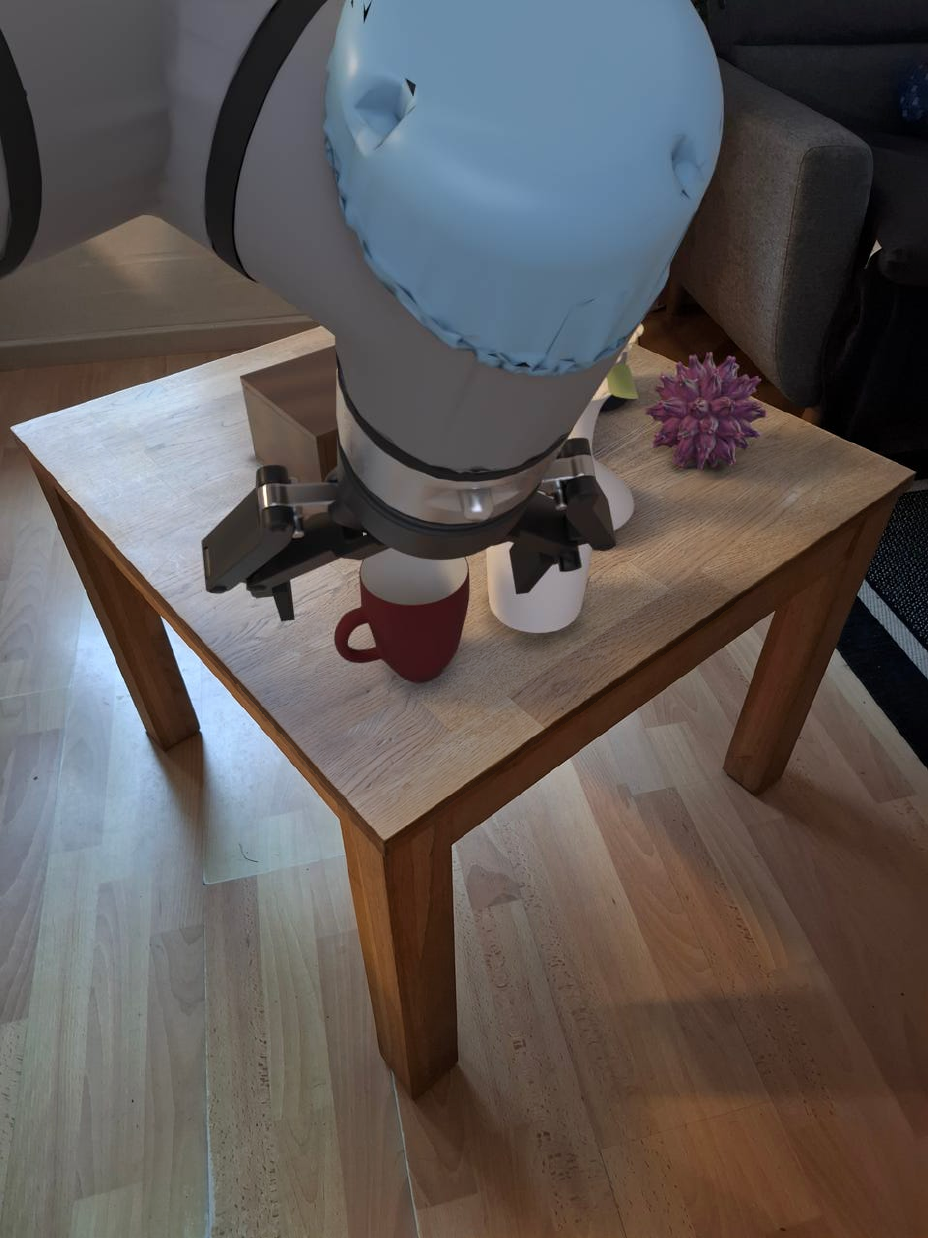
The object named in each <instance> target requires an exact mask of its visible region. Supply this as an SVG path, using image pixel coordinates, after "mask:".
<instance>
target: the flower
mask: <svg viewBox="0 0 928 1238" xmlns="http://www.w3.org/2000/svg"><path fill="white" fill-rule="evenodd" d="M688 361H689V365H688V368H687V367H686V366H684V365H683V362H681V361H679V362H676V363H675V364H674V366H675V368H676V377H675V376H674V377H673V376H668V375H666V374H665V373H661V374H660V375H659V376H658V379H659V381H660V382H661V383H662V385H663V386H661V385H659V384H655V386H654V387H653V391H654V392H656V393H658V395H659V397H660V398H661V400H658V402H657V403H656V404H655V405H653V406H650V407H645V408H644V411H645V413H644V415H645V416H650V417H652V419H653V421H657V422H660V423H662V424H663V425H662V427H661V429H660V430H658V431H657V432H656V433H654V440H652V441H651V444H652V448H653V449H657V448H659V447H662V446H664V447H667V448H672V447H674V455H673V457H672V459H671V460H672V461H673V462H675V464H677V463H678V466H679V467H681V468H684V469H685V468H686V466H687V464H688V463H689V462H691V461H692V460H693V459H694V460H695V463H696V464H697V465H696V466H697V472H702V471H703V468H704V465H705V464H704V463H705V462H706V460H707V461H708V462H709V465H710V467H711V468H715V467H717V463H718V459H721V460H722V461H724V462H725V463H726V465H727V466H728V467H731V466H732V465H733V466H735V464H737V462H738V461H737V459H736V457H735V455H736V453H735V452H736V447H737V448H740V449H742V450H744V451H747V452H748V449H749V447H751V444H750V443H749V441H747V439H748V438H755V439H760V436H762V433H761V432H760V431H757V430H756V429H755V428H754V426H752V424H751V423H753V422H754V421H756V420H758V419H764V418H766V417H767V412H768V411H767V409H766V408H762V407H763V403H762V402H761V401H754V400H752V399H750V397H751V396H752V395H753V394H755V393H756V391H757V389H756V386H757V385H758V384H760V383H761V381H762V379H761V378H759V376H758V375H756V376H755V375H754V377H752V378H750V376H748V374H743V375H742V376H740V377H738V369H740V365H739V364H737V363H736V362H735V361H736V357H735V356H732V355H728V356H727V357H726V359H725V360H724V362H723V363H721V364H720V365H718V366H717V365H716V364H715V362H714V360H713V352H712V351H710V352H706V355H705V358H704V361H703V362H702V363H701V362H700V361H699V359H698V356H697V355H696V354H693V355H692V354H690V355H689V357H688Z"/></svg>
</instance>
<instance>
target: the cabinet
mask: <svg viewBox="0 0 928 1238" xmlns="http://www.w3.org/2000/svg"><path fill="white" fill-rule="evenodd" d="M239 379H240V384H241V388H242V389H241V390H242V394H243V398H244V399H243V400H244V404H245V409H246V414H247V420H248V425H249V430H250V435H251V440H252V445H253V446H252V447H253V450H254V456H255V459H256V460H257V461H258V463H259V464H261V465H262V467H264V466H269V465H280V466H284V467H285V468H287V471H288V478H290V477H294V478H297V479H298V480H299V483H319V482H325V479H326V477H327V475H328V474H329V473H330V472H331V471H332V470H333V469H334V468H336V467H337V416H336V388H337V360H336V350H335V344H334V345H330V346H328V347H325V348H321V349H318V350H315V351H312V352H309V353H306V354H303V355H300V356H297V357H294V358H291V359H288V360H285V361H282V362H279V363H276V364H273V365H269V366H266V367H264V368H260V369H258V370H254V371H251V372H248V373H245V374H242V375H239Z"/></svg>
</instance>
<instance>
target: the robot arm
mask: <svg viewBox="0 0 928 1238" xmlns="http://www.w3.org/2000/svg"><path fill="white" fill-rule="evenodd" d="M724 101H725V100H724V88H723V82H722V77H721V72H720V66H719V61H718V58H717V55H716V51H715V48H714V45H713V43H712V40H711V37H710V35H709V33H708V30H707V27H706V24H705V23H704V21H703V20H702V18H701V16H700V15H699V13H698V11H697V9H696V8H695V6H694V4H693V2H692V0H0V281H1V280H3V279H6V278H8V277H10V276H12V275H14V274H16V273H18V272H21V271H23V270H25V269H27V268H30V267H31V266H34V265H36V264H39V263H41V262H43V261H45V260H48V259H49V258H52V257H55V256H56V255H58V254H61V253H63V252H65V251H67V250H70V249H71V248H74V247H76V246H78V245H81V244H82V243H84V242H88V241H89V240H91V239H94V238H96V237H98V236H100V235H103V234H105V233H107V232H109V231H112V230H114V229H115V228H118V227H120V226H122V225H123V224H124V225H125V224H126V223H127V222H130V221H132V220H135V219H137V218H140V217H141V216H151V217H154V218H158V219H160V220H162V221H163V222H164V223H167V224H168V225H170V226H171V227H172V228H174V229H175V230H177V231H179V232H181V234H184V235H185V236H186V237H187V238H189V239H191V240H192V241H193V242H195V243H197V244H198V245H199V246H201V247H203V248H204V249H205V250H206V251H208V252H210V253H211V254H213V255H214V256H216V257H218V258H219V259H220V260H222V261H223V262H224V263H226V265H227V266H229V267H230V268H232V269H233V270H235V271H236V272H238V273H239V274H240V275H241V276H243V277H244V278H246V279H248V280H249V281H252V282H254V283H257V284H259V285H261V286H263V287H264V288H265V289H267V290H269V291H270V292H271V293H272V294H274V295H275V296H277V297H278V298H280V299H281V300H283V301H284V302H286V303H287V304H289V305H290V306H292V307H293V308H295V309H296V310H298V311H299V312H300V313H302V314H303V315H305V316H306V317H308V318H309V319H310V320H312V321H313V322H315V323H316V324H319V326H321V327H322V328H324V329H325V330H327V331H328V332H329V333H331V334H332V335H333V336H334V345H335V350H336V360H337V388H336V416H337V467H336V468H334V469H333V470H332V471H331V472H330V473H329V474H328V475H327V477H326V479H325V482H319V483H299V480H298V479H297V478H294V477H290V478H288V471H287V468H285V467H284V466H280V465H269V466H261V467H259V468H258V469H257V470H256V472H255V487H254V488H253V489H252V490H251V491H250V492H249V493H248V494H247V495H246V496H245V497H244V498H243V499H242V500H241V501H240V502H239V503H238V504H237V505H236V506H235V507H234V508H233V509H232V510H231V511H230V512H229V513H228V514H226V516H225V517H223V518H222V520H221V521H220V522H219V523H218V524H216V525H215V526H214V528H213V529H212V530H211V531H210V532H209V533H208V534H206V536H204V537H203V538H202V540H201V552H202V553H201V554H202V564H203V574H204V585H205V592H207V593H209V594H216V595H220V594H225V593H226V592H229V591H231V590H233V589H234V588H236V587H237V586H238V585H239V584H245V590H246V591H248V592H250V594H251V597H253V598H255V599H263V598H273V600H274V603H275V607H276V610H277V613H278V616H279V619H280V622H288V621H295V618H296V617H295V610H294V602H293V591H292V583H291V581H292V580H294V579H296V578H298V577H301V576H303V575H305V574H307V573H308V574H309V573H310V572H312V571H314V570H317V569H319V568H321V567H323V566H326V565H328V564H330V563H332V562H335V561H337V560H339V559H346V560H355V561H363V560H364V559H366V558H368V557H371V556H373V555H375V554H378V553H380V552H382V551H385V550H387V549H389V548H392V549H394V550H396V551H399V552H401V553H404V554H406V555H409V556H413V557H417V558H422V559H429V560H452V559H458V558H463V557H465V558H466V557H470V556H473V555H476V554H479V553H482V552H483V551H486V549H487V548H489V547H491V546H496V545H499V544H503V543H506V542H512V543H513V545H512V546H511V548H510V550H509V554H510V560H511V566H512V572H513V578H514V584H515V590H516V594H524V593H529V592H530V591H531V589H532V588H533V587H534V586H535V585H536V584H537V582H538V581H539V580H540V579H541V578H542V577H543V575H544V574H545V573H546V572H547V571H548V569H549V568H550V567H551V566H552V565H556V564H558V565H559V571H560V572H569V571H574V570H577V569H580V568H581V567H582V564H581V559H580V553H579V548H578V546H580V545H584V544H589V545H590V546H591V548H592V551H600V552H606V551H610V550H612V549H614V548H615V547H617V539H616V533H615V531H614V529H613V524H612V518H611V513H610V508H609V503H608V499H607V497H606V495H605V494H604V492H603V490H602V489H601V487H600V485H599V484H598V482H597V480H596V476H595V471H594V465H593V460H592V456H591V450H590V445H589V440H588V439H587V438H571V439H568V437H569V436H570V434H571V432H572V431H573V428H574V426H575V424H576V423H577V421H578V420H579V418H580V417H581V415H582V414H583V412H584V411H585V409H586V407H587V406H588V404H589V403H590V401H591V400H592V398H593V397H594V395H595V393H596V392H597V390H598V389H599V387H600V386H601V384H602V383H603V381H604V379H605V378H606V376H607V375H608V373H609V372H610V370H611V369H612V367H613V365H614V364H615V362H616V361H617V359H618V358H619V356H620V355H621V353H622V351H623V350H624V348H625V347H626V345H627V344H628V342H629V341H630V339H631V337H632V336H633V334H634V333H635V331H636V330H637V328H638V327H639V325H640V323H641V324H642V322H643V320H644V319H645V317H646V315H647V313H649V311H650V309H651V308H652V306H653V304H654V303H655V302H656V300H657V298H658V297H659V295H660V294H661V292H662V291H663V290H664V288H665V286H666V284H667V281H668V278H669V276H670V268H671V267H670V266H671V262H672V261H673V258H674V257H675V254H676V253H677V251H678V248H680V245H681V243H682V241H683V239H684V237H685V235H686V233H687V231H688V229H689V227H690V225H691V223H692V221H693V220H694V217H695V215H696V213H697V211H698V209H699V206H700V204H701V201H702V199H703V197H704V195H705V193H706V191H707V189H708V187H709V185H710V183H711V180H712V178H713V175H714V173H715V170H716V166H717V163H718V160H719V155H720V150H721V145H722V139H723V133H724V120H725V119H724V117H725V111H724V108H725V107H724V103H725V102H724ZM537 491H540V492H544V493H545V495H544V494H541V493H539V492H537ZM548 496H549V497H548ZM550 497H553V499H552V498H550Z"/></svg>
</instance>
